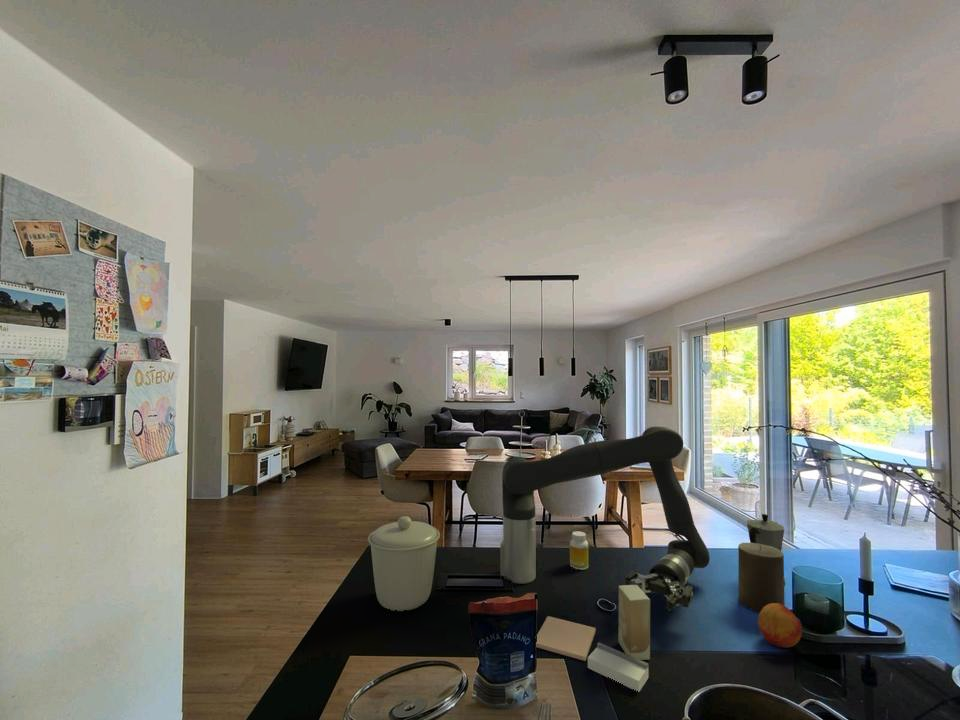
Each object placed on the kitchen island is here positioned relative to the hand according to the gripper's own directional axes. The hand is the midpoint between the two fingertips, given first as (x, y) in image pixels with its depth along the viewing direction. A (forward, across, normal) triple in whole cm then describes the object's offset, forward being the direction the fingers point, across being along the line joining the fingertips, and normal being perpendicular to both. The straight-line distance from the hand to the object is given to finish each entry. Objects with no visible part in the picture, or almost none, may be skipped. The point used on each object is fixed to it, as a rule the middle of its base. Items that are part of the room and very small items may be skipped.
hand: (647, 599), depth 96 cm
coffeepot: (-46, +16, +7) cm, 50 cm away
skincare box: (+8, 0, +7) cm, 11 cm away
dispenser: (+17, 0, +7) cm, 18 cm away
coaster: (+14, -13, +7) cm, 20 cm away
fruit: (-14, +23, +7) cm, 28 cm away
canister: (+26, -52, +8) cm, 59 cm away
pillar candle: (-30, +18, +7) cm, 36 cm away
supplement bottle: (-20, -27, +7) cm, 35 cm away
